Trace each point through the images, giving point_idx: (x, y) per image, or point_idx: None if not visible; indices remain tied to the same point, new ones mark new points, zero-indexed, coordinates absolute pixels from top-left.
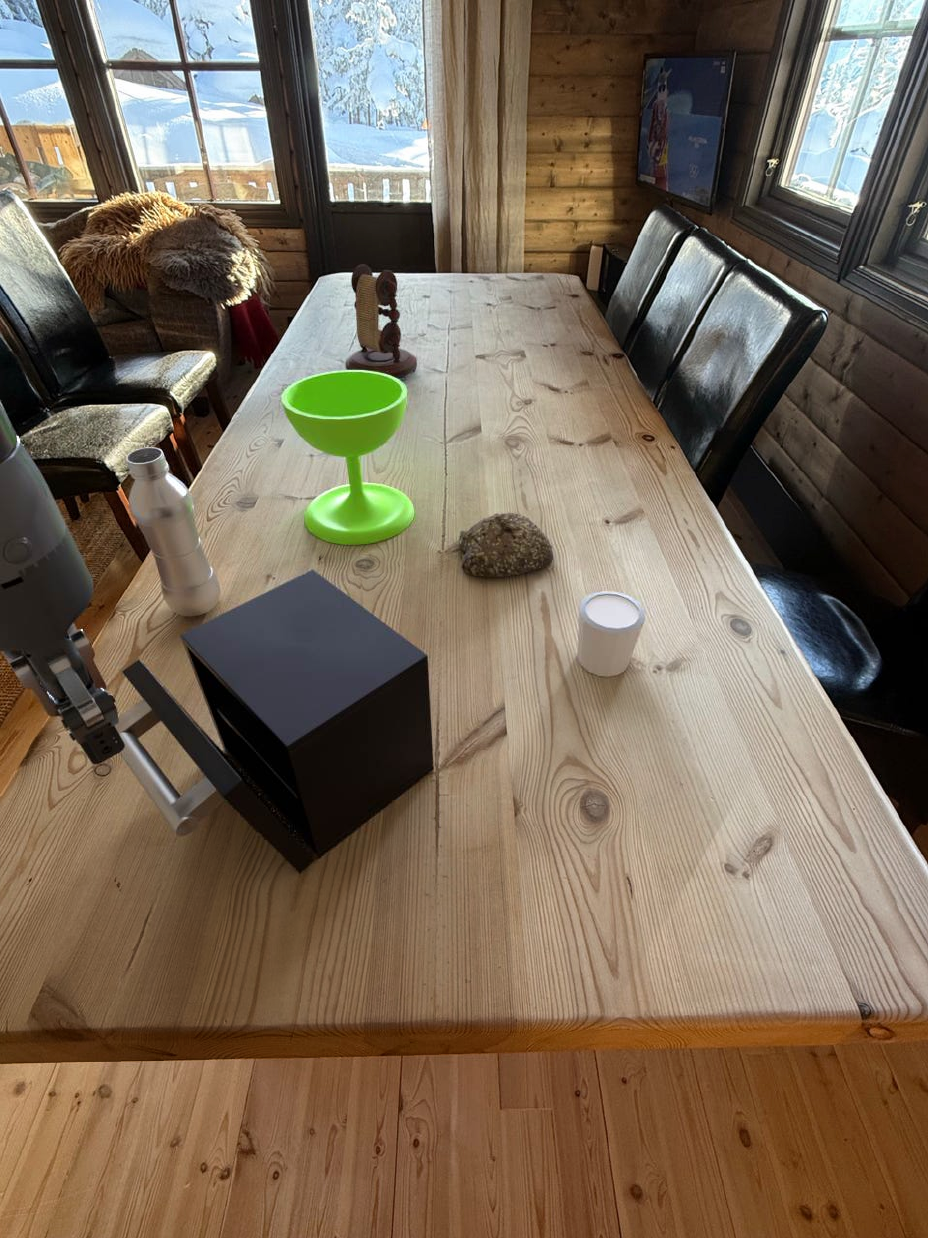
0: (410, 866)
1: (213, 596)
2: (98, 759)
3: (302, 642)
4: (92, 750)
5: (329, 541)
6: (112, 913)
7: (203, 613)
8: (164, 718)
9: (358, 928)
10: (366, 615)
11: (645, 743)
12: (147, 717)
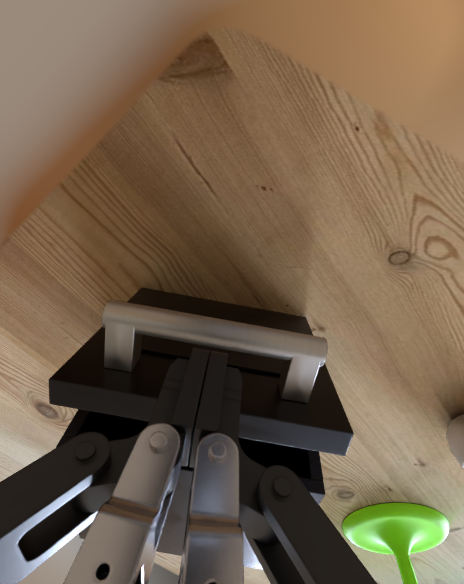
0: (88, 332)
1: (449, 444)
2: (170, 366)
3: (185, 522)
4: (181, 377)
5: (396, 503)
6: (241, 165)
7: (451, 421)
8: None
9: (71, 281)
10: (168, 551)
11: None
12: (282, 384)
